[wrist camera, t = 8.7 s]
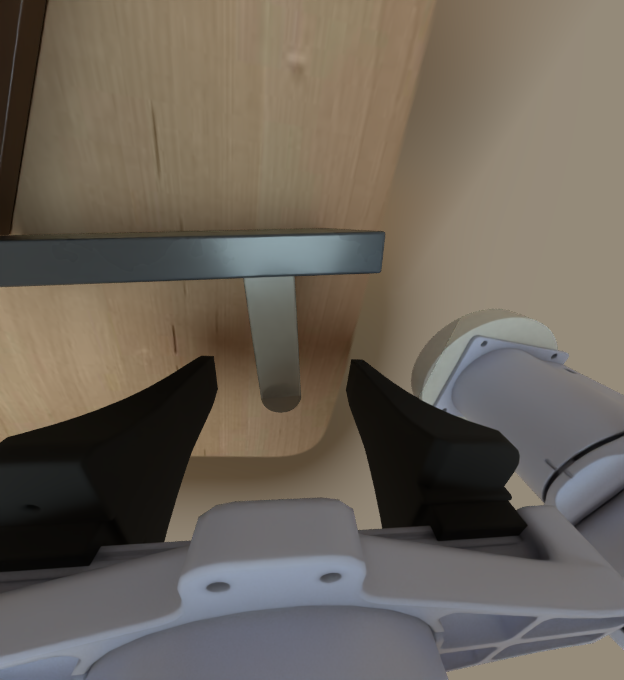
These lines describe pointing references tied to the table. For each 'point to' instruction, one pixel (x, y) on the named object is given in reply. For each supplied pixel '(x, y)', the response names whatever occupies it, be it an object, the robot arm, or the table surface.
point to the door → (208, 276)
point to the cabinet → (15, 90)
